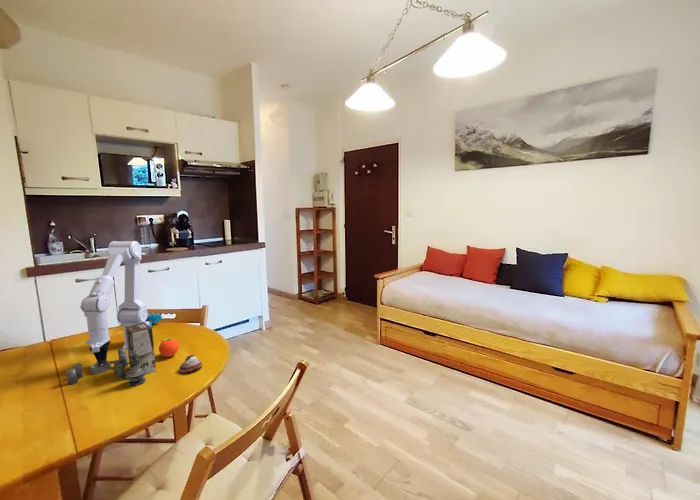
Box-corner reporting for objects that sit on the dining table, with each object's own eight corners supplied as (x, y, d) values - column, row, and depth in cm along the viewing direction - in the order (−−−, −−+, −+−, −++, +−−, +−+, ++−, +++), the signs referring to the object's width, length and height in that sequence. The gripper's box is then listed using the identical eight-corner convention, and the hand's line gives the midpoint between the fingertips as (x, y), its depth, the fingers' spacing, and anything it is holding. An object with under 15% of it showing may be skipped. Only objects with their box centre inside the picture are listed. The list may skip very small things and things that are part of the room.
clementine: (153, 357, 127) (151, 340, 126) (169, 350, 133) (167, 333, 132) (168, 361, 124) (166, 343, 123) (183, 353, 130) (182, 336, 129)
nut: (112, 364, 121) (111, 359, 121) (109, 371, 117) (108, 365, 117) (92, 368, 119) (91, 362, 118) (88, 375, 114) (87, 369, 114)
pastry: (196, 361, 124) (195, 349, 123) (207, 367, 120) (206, 355, 119) (174, 370, 118) (173, 357, 117) (185, 377, 113) (184, 363, 113)
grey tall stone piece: (124, 389, 106) (121, 354, 104) (127, 380, 111) (123, 347, 109) (146, 384, 109) (142, 350, 107) (147, 376, 114) (144, 343, 112)
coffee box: (156, 370, 117) (152, 327, 115) (136, 377, 113) (131, 333, 110) (148, 362, 124) (144, 321, 121) (129, 368, 119) (124, 326, 116)
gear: (165, 318, 164) (158, 310, 156) (165, 329, 161) (157, 321, 153) (140, 323, 161) (132, 315, 153) (140, 335, 158) (131, 326, 150)
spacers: (131, 357, 127) (130, 346, 126) (125, 378, 112) (123, 366, 112) (78, 367, 120) (76, 355, 119) (63, 390, 105) (62, 378, 104)
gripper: (89, 323, 123) (93, 356, 125) (78, 337, 111) (83, 374, 113) (112, 320, 127) (115, 353, 129) (104, 333, 114) (108, 369, 116)
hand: (102, 362), depth 121 cm, fingers closed
